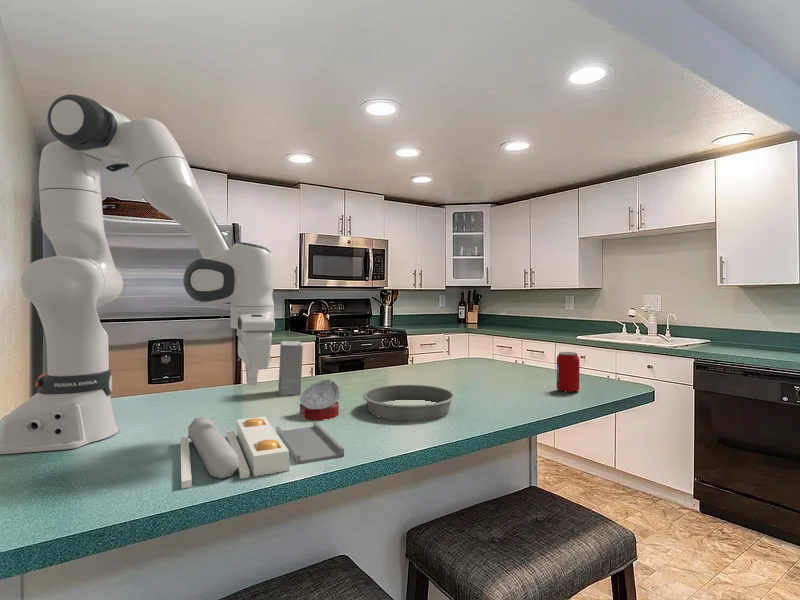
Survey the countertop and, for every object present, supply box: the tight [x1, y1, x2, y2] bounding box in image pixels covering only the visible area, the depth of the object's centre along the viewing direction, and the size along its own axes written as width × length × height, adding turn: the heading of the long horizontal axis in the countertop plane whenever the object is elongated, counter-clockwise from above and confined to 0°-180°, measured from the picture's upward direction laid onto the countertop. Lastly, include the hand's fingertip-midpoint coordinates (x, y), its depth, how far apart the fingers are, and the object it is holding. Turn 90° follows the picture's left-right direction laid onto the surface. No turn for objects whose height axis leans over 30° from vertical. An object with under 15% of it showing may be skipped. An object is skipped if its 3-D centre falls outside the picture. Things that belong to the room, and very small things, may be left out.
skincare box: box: [277, 340, 304, 397], centre depth 145 cm, size 8×7×16 cm
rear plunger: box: [245, 417, 263, 427], centre depth 100 cm, size 4×4×4 cm
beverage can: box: [556, 351, 581, 393], centre depth 146 cm, size 7×7×12 cm
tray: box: [275, 421, 345, 465], centre depth 96 cm, size 9×20×2 cm, turn 26°
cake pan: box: [362, 384, 456, 421], centre depth 124 cm, size 25×25×4 cm
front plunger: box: [257, 440, 277, 451], centre depth 85 cm, size 4×4×4 cm
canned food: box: [299, 379, 341, 421], centre depth 119 cm, size 11×10×10 cm
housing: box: [179, 416, 290, 489], centre depth 90 cm, size 17×25×4 cm
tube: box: [187, 417, 238, 480], centre depth 89 cm, size 5×5×25 cm
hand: (251, 384), depth 99 cm, fingers closed
